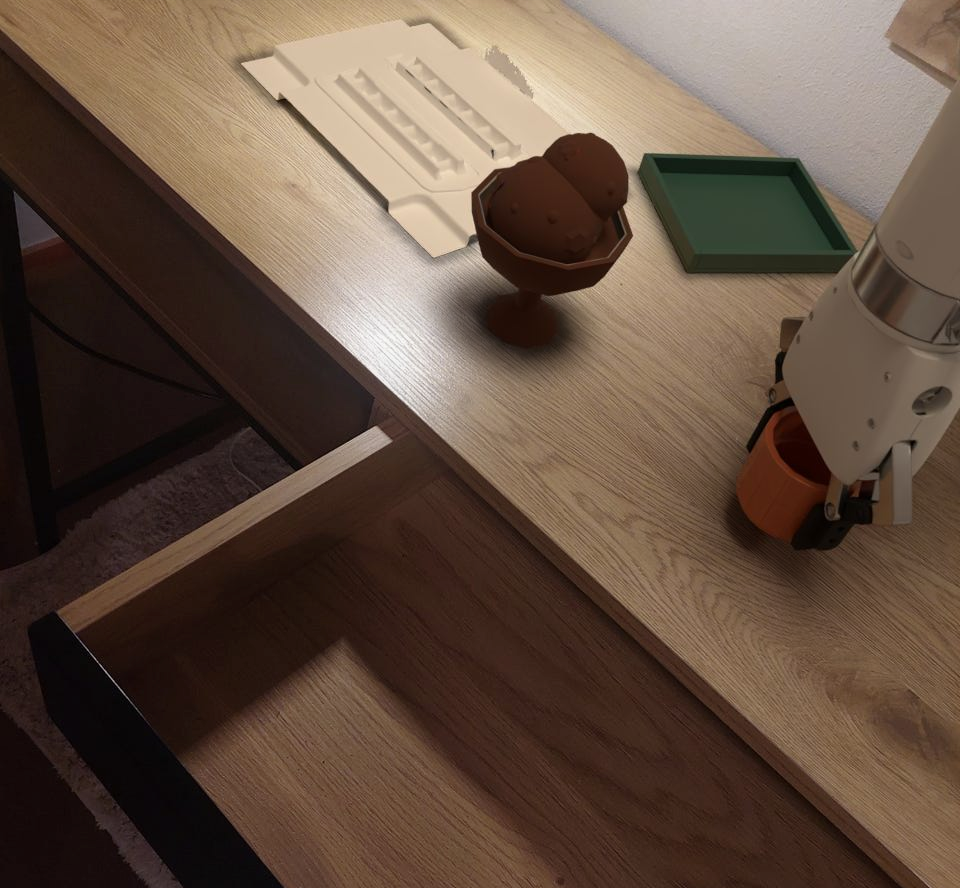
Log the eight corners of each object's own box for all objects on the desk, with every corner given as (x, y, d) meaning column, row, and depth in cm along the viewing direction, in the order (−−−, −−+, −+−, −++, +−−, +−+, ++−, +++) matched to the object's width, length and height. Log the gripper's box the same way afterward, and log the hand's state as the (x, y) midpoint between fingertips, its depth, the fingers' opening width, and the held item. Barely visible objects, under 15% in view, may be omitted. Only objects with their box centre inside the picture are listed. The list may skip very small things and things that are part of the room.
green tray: (790, 176, 97) (799, 157, 96) (849, 272, 90) (860, 254, 88) (637, 171, 93) (644, 152, 91) (686, 272, 86) (695, 253, 84)
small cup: (811, 458, 72) (847, 402, 68) (853, 542, 69) (894, 488, 64) (718, 465, 70) (749, 407, 66) (756, 551, 67) (791, 496, 62)
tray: (434, 259, 81) (441, 217, 78) (238, 75, 92) (238, 32, 89) (624, 191, 91) (636, 152, 88) (426, 33, 102) (431, -7, 99)
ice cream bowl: (518, 254, 83) (566, 72, 71) (623, 338, 79) (692, 162, 68) (418, 304, 77) (452, 115, 66) (526, 397, 74) (583, 216, 62)
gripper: (1076, 402, 51) (896, 603, 65) (916, 176, 60) (789, 395, 75) (943, 409, 49) (788, 615, 63) (799, 174, 58) (692, 400, 73)
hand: (790, 495), depth 69 cm, fingers closed on small cup, 7 cm apart
